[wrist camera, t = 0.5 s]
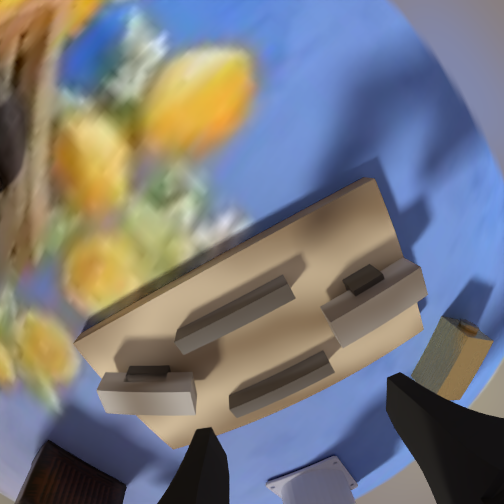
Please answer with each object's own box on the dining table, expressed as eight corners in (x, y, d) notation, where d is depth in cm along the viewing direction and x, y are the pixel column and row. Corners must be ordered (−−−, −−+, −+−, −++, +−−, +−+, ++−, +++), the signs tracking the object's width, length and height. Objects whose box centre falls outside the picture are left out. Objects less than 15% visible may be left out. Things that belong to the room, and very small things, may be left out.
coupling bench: (413, 320, 21) (443, 347, 17) (174, 437, 23) (170, 474, 18) (363, 177, 18) (399, 181, 14) (80, 333, 19) (56, 366, 15)
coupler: (468, 317, 22) (495, 336, 19) (436, 379, 24) (457, 403, 20) (442, 311, 22) (470, 332, 18) (408, 378, 23) (429, 404, 20)
